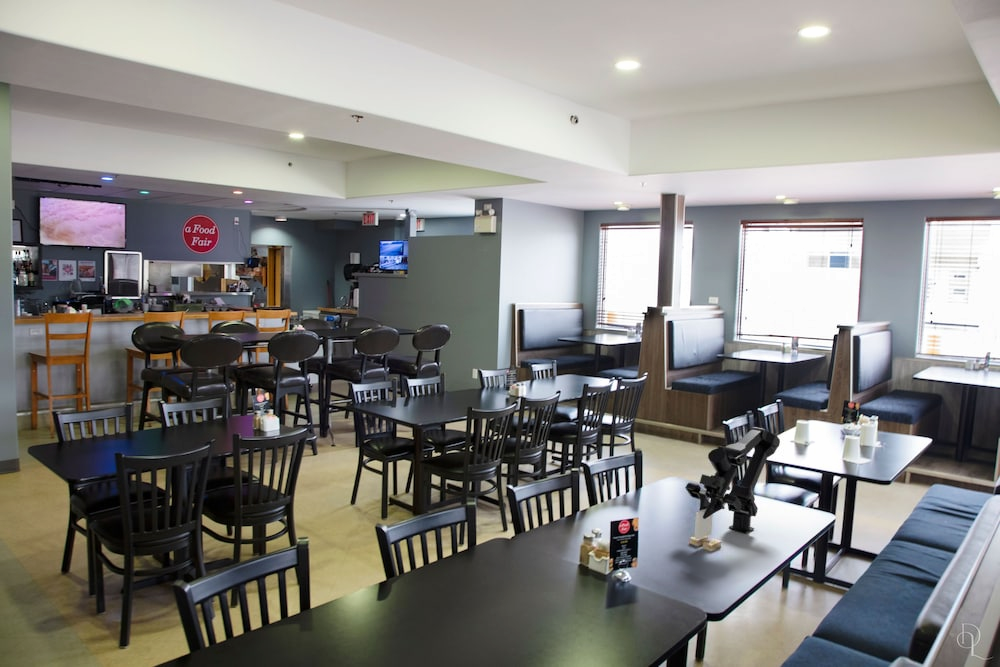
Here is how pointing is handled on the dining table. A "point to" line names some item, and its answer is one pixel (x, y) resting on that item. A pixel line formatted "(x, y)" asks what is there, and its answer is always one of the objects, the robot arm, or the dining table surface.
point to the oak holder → (706, 543)
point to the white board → (702, 525)
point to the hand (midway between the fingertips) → (701, 517)
